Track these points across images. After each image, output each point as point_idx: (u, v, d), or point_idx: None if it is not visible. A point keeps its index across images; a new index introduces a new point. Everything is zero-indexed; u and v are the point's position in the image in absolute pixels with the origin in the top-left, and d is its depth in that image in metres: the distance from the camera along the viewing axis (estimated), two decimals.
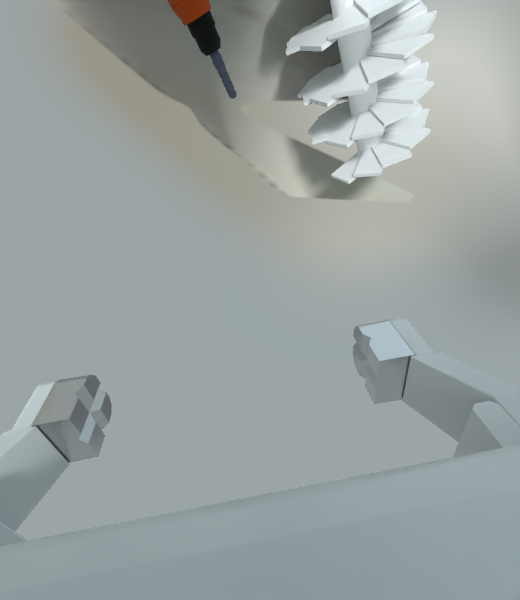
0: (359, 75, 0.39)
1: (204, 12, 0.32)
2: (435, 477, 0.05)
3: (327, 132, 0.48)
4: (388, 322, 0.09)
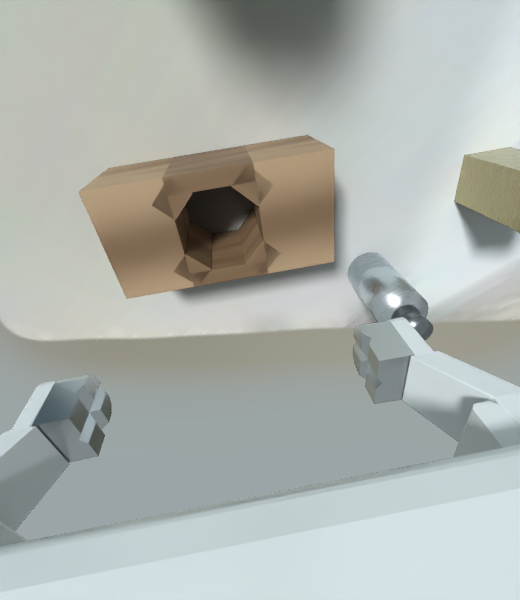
0: None
1: None
2: (435, 477, 0.05)
3: None
4: (388, 322, 0.09)
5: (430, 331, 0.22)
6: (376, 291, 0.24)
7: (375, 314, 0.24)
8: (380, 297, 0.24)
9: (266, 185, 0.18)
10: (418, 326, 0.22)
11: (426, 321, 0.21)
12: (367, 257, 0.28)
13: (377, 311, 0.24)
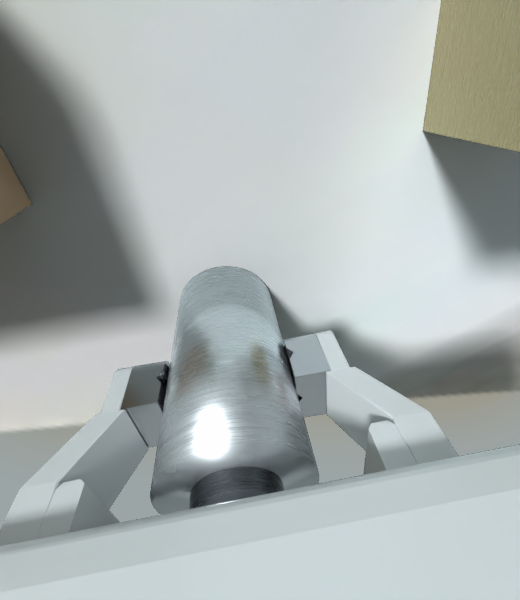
0: None
1: None
2: (436, 477, 0.05)
3: None
4: (314, 335, 0.09)
5: None
6: (169, 395, 0.08)
7: None
8: (164, 424, 0.07)
9: None
10: None
11: None
12: (208, 279, 0.11)
13: None
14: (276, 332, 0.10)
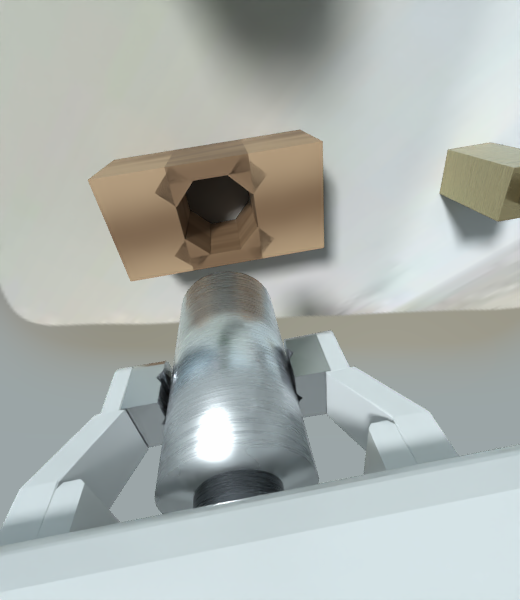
0: None
1: None
2: (435, 477, 0.05)
3: None
4: (314, 335, 0.09)
5: None
6: (172, 400, 0.08)
7: None
8: (168, 428, 0.07)
9: (260, 175, 0.20)
10: None
11: None
12: (209, 284, 0.11)
13: None
14: (276, 336, 0.10)
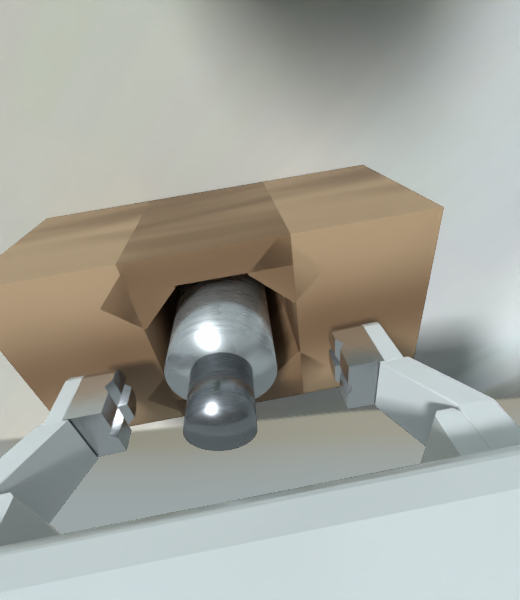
0: None
1: None
2: (436, 477, 0.05)
3: None
4: (361, 327, 0.09)
5: (251, 428, 0.09)
6: (177, 313, 0.11)
7: None
8: (174, 329, 0.11)
9: (312, 270, 0.10)
10: (211, 420, 0.08)
11: (230, 409, 0.08)
12: None
13: None
14: None
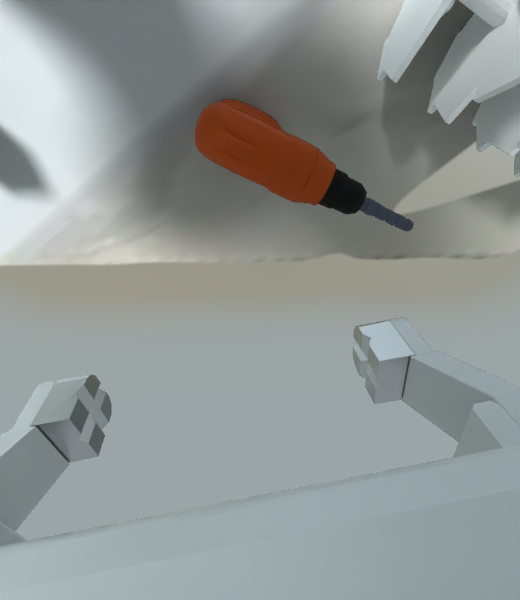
0: None
1: (332, 176, 0.23)
2: (436, 477, 0.05)
3: None
4: (388, 322, 0.09)
5: None
6: None
7: None
8: None
9: None
10: None
11: None
12: None
13: None
14: None
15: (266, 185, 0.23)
